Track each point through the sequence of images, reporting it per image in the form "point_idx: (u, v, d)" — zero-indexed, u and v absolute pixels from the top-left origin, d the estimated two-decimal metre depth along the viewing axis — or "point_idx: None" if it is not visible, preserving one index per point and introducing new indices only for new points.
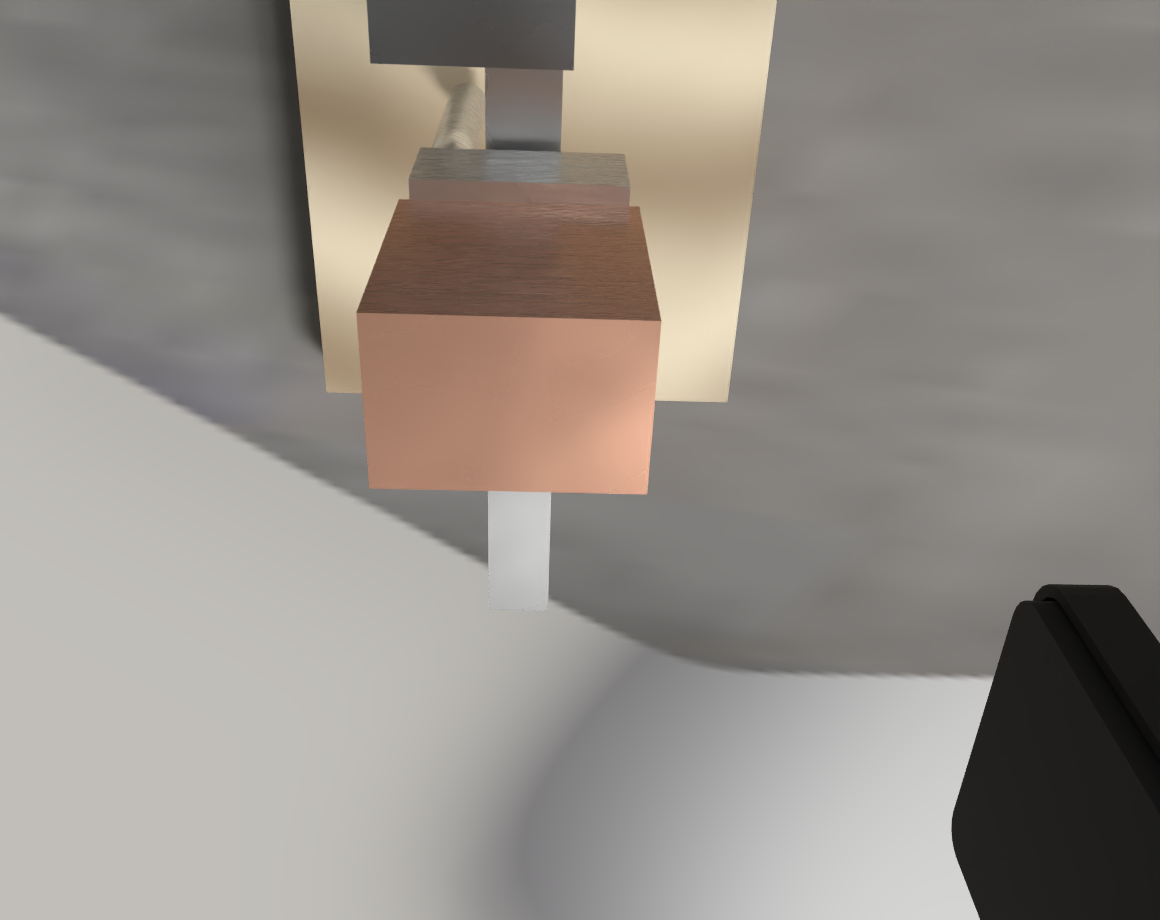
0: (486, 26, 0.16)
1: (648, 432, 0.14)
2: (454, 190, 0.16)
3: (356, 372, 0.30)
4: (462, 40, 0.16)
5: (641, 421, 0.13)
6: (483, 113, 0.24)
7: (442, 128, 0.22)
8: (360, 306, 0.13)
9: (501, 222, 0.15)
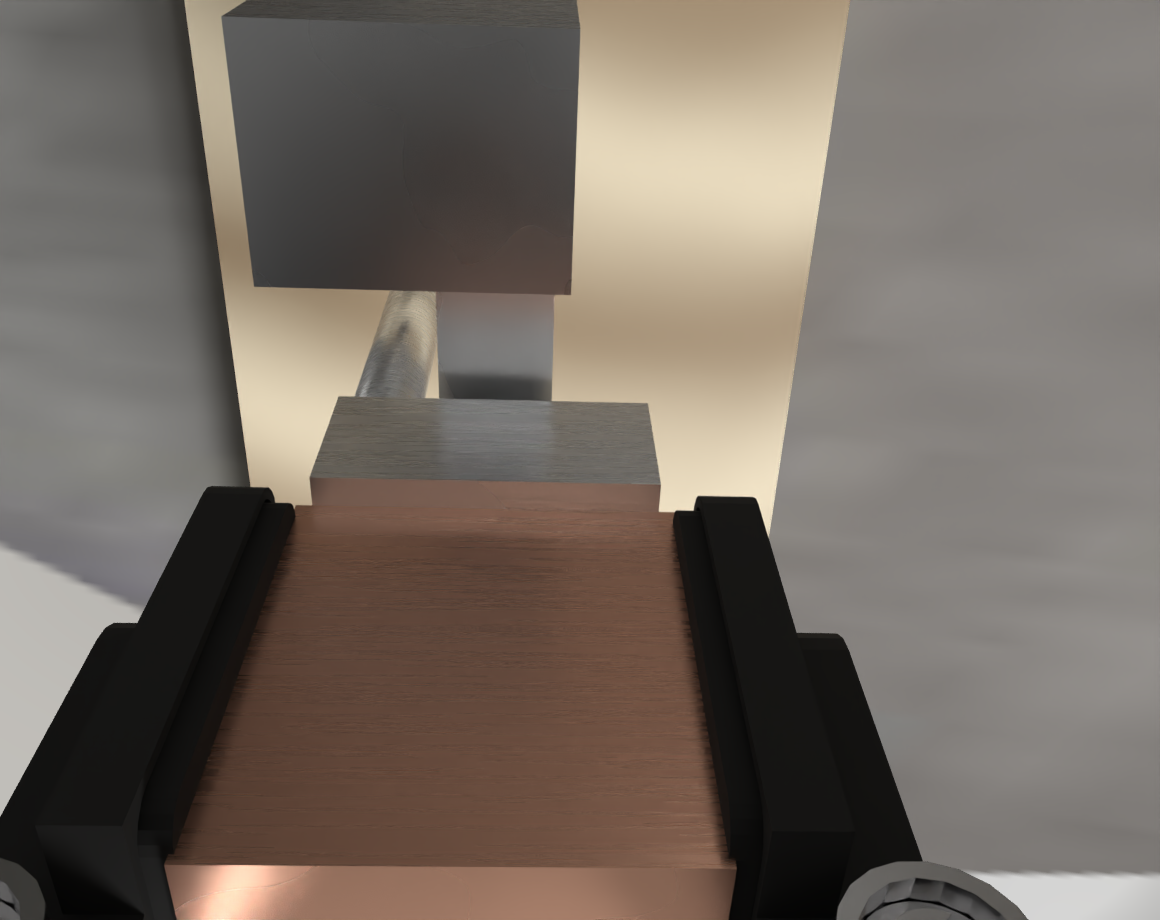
0: (433, 233, 0.10)
1: None
2: (383, 492, 0.10)
3: None
4: (397, 253, 0.10)
5: None
6: None
7: (392, 300, 0.16)
8: None
9: (455, 563, 0.09)
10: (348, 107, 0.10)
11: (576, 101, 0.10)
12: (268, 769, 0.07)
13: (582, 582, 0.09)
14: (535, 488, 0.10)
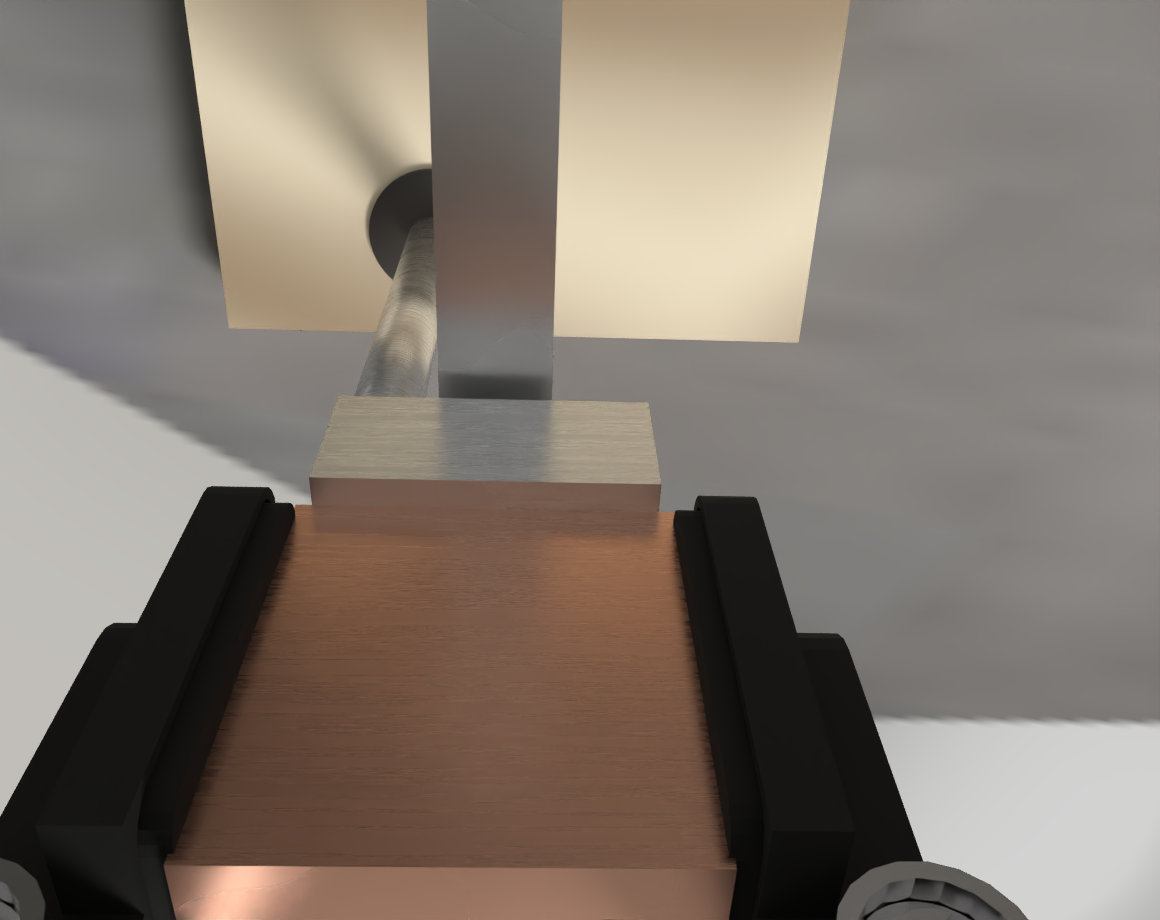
0: None
1: None
2: (383, 491, 0.10)
3: (270, 298, 0.21)
4: None
5: None
6: None
7: (393, 299, 0.16)
8: None
9: (456, 564, 0.09)
10: None
11: None
12: (268, 770, 0.07)
13: (582, 582, 0.09)
14: (535, 488, 0.10)
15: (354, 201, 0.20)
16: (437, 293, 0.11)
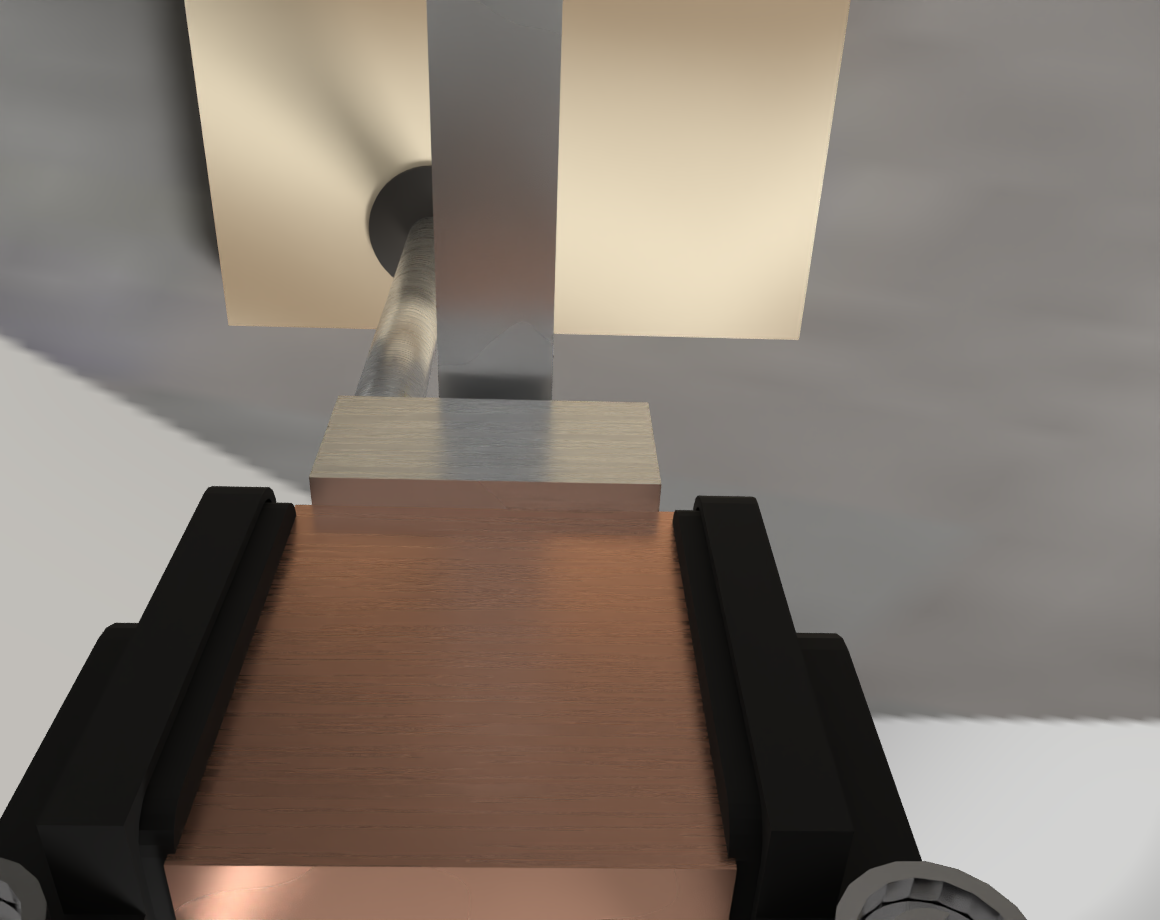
0: None
1: None
2: (383, 491, 0.10)
3: (270, 295, 0.21)
4: None
5: None
6: None
7: (393, 299, 0.16)
8: None
9: (456, 563, 0.09)
10: None
11: None
12: (268, 770, 0.07)
13: (582, 582, 0.09)
14: (535, 488, 0.10)
15: (354, 198, 0.20)
16: (437, 288, 0.11)
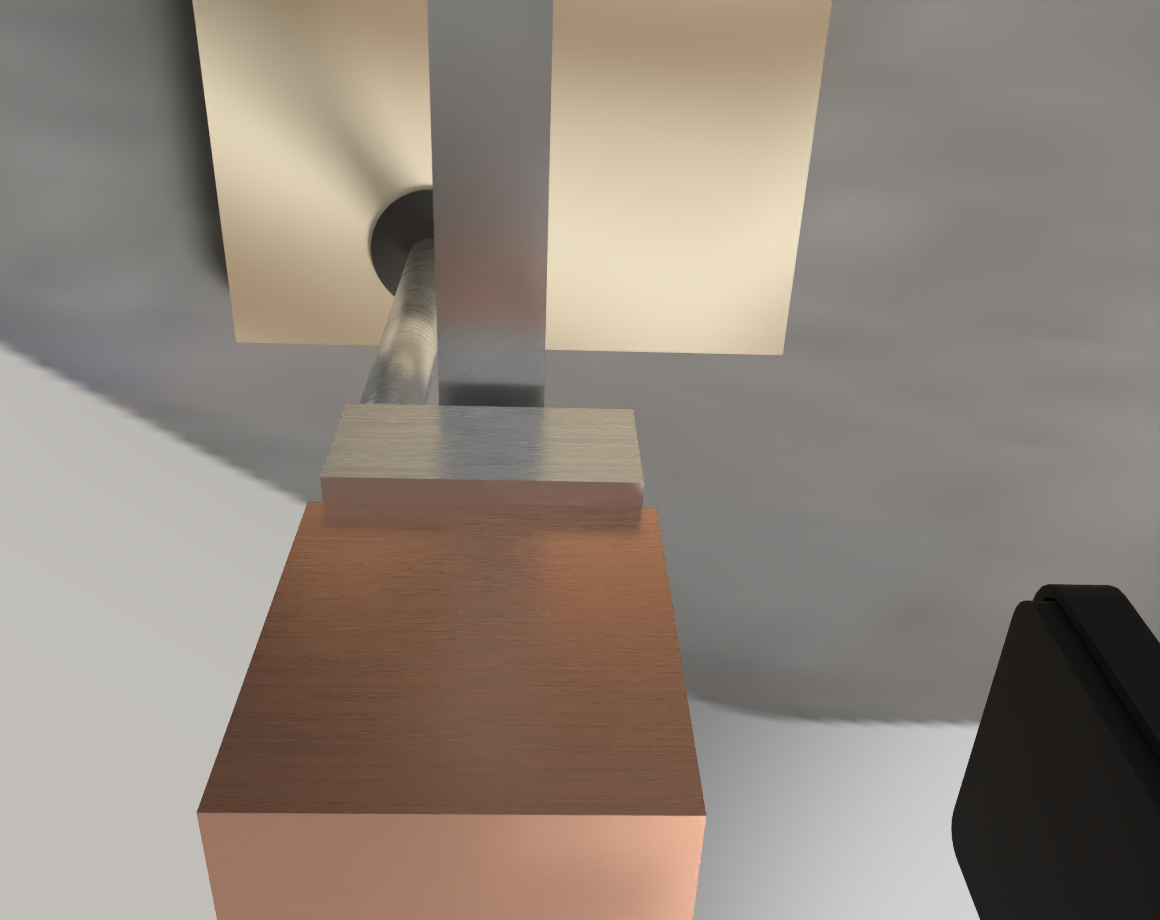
0: None
1: None
2: (387, 490, 0.11)
3: (276, 313, 0.22)
4: None
5: None
6: None
7: (394, 316, 0.17)
8: (206, 794, 0.08)
9: (454, 555, 0.10)
10: None
11: None
12: (287, 732, 0.08)
13: (571, 571, 0.10)
14: (528, 486, 0.11)
15: (357, 220, 0.21)
16: (437, 304, 0.12)
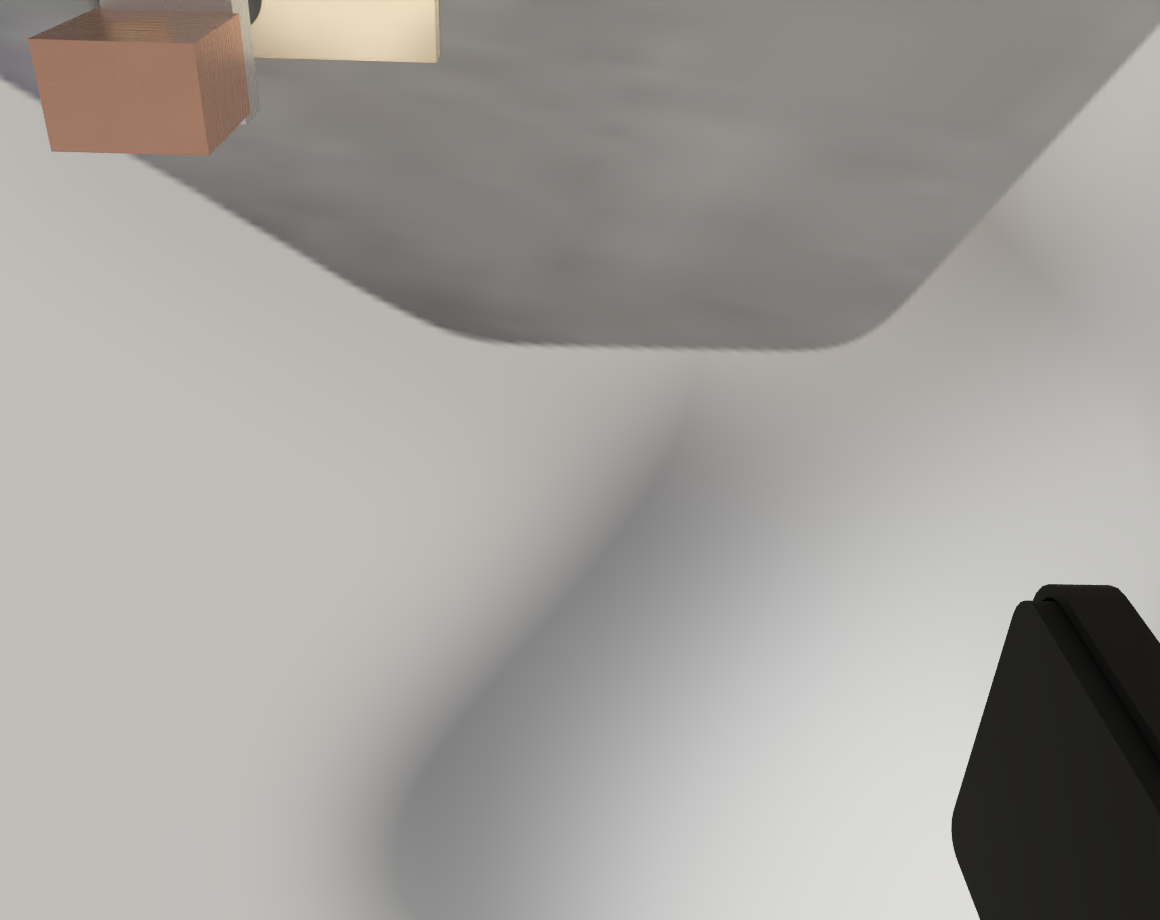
0: None
1: (202, 115, 0.24)
2: (126, 3, 0.27)
3: None
4: None
5: (195, 107, 0.24)
6: None
7: None
8: (32, 37, 0.24)
9: (146, 17, 0.26)
10: None
11: None
12: (63, 33, 0.24)
13: (190, 20, 0.26)
14: (184, 2, 0.27)
15: None
16: None
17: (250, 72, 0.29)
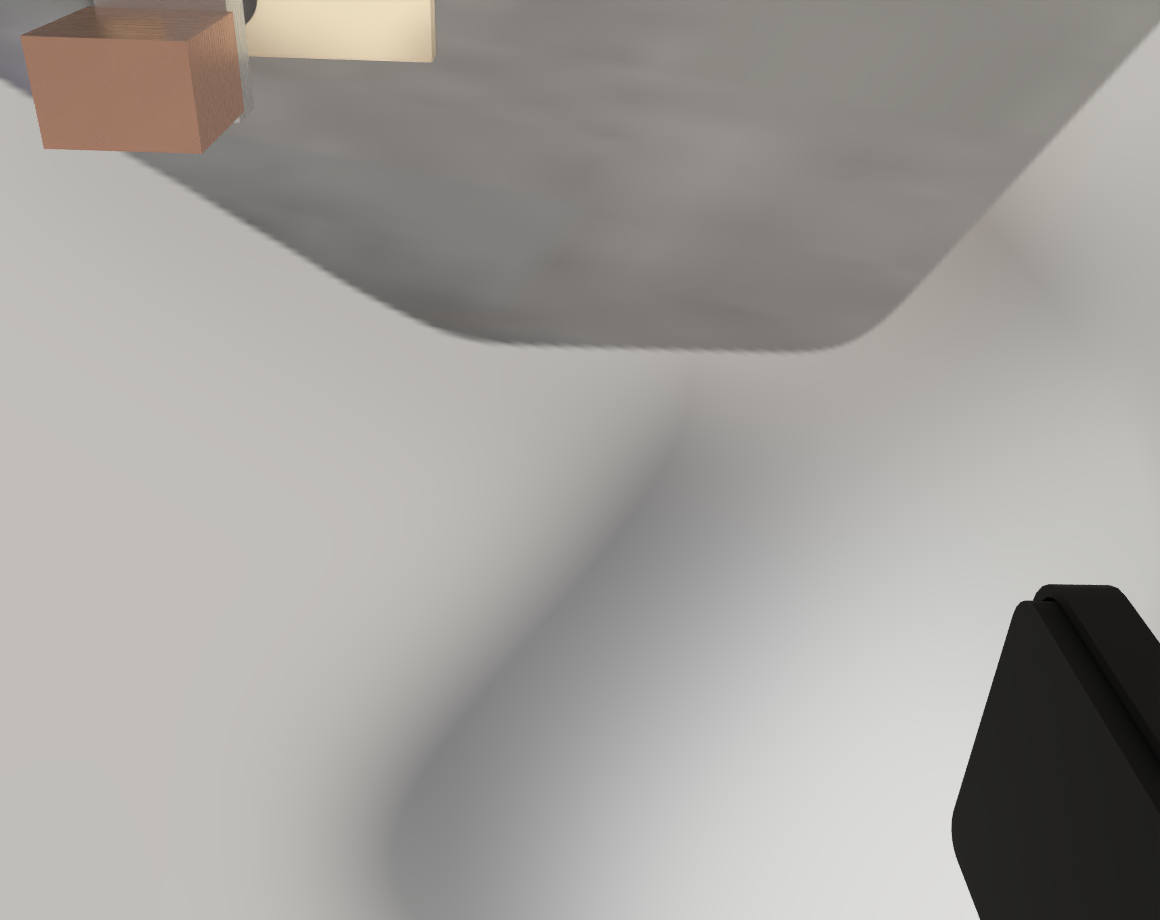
0: None
1: (194, 113, 0.24)
2: (120, 0, 0.27)
3: None
4: None
5: (188, 105, 0.24)
6: None
7: None
8: (24, 34, 0.24)
9: (140, 14, 0.26)
10: None
11: None
12: (56, 30, 0.24)
13: (183, 18, 0.26)
14: (178, 0, 0.27)
15: None
16: None
17: (244, 70, 0.29)
